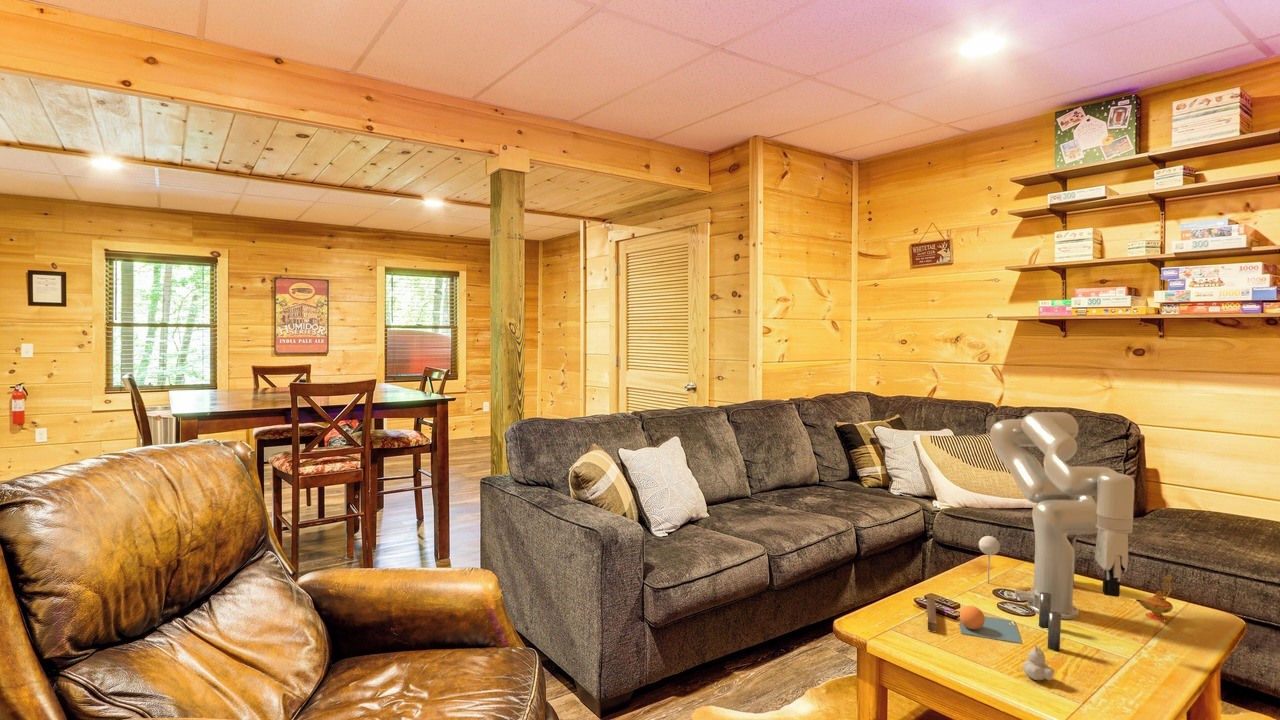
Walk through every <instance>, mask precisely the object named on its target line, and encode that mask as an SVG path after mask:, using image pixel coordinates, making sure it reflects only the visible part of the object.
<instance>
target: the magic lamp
mask: <svg viewBox="0 0 1280 720" xmlns="http://www.w3.org/2000/svg"><path fill="white" fill-rule="evenodd" d="M1172 578H1173V577H1172V575H1171V574H1168V575H1166V576H1165V577H1164V580H1163V581H1164V582H1163V583H1164V584H1163V593H1162V591H1161V590H1157V591H1156V593H1155V594H1154V595H1153V596H1152V597H1151V596H1149V597H1143V598H1142V599H1137V598H1136V599H1135V601H1136V602H1138V603H1139V604H1140V605H1141V606H1142V607H1143V608H1145V609H1146V610H1148V611H1151V612H1148V613H1147V612H1146V613H1145V614H1144V615H1145V617H1147V618H1148V619H1150V618H1151V620H1153V619H1154V621H1157V620H1159V621H1158V622H1167V621H1166V620H1167V619H1168V617H1166V616H1165V615H1164V614H1167V613H1169V612H1171V611H1172V610H1173V609H1174V605H1173V604H1172V603H1171V602H1170V601H1167V600H1166V599H1168V596H1170V593H1171V591H1172V585H1171V582H1170V581H1171V580H1172ZM1167 583H1168V586H1169V590H1168V593H1167V594H1166V592H1167ZM1164 620H1165V621H1164Z"/></svg>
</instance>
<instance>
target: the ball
mask: <svg viewBox="0 0 1280 720" xmlns="http://www.w3.org/2000/svg"><path fill="white" fill-rule="evenodd" d="M959 612H960V620H961V622H962V624H963V625H964V626H965V627H966V628H968V629H971V630H977V629H980V628H981V627H982V626H983V625H984V622H985V618H984V616H985V615H984V613H983V611H982V610H981V609H979V608H978V607H977V606H974V605H965V606H964V607H963V608H962V609H961V610H960V611H959Z"/></svg>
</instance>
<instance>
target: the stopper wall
mask: <svg viewBox="0 0 1280 720" xmlns="http://www.w3.org/2000/svg"><path fill="white" fill-rule="evenodd" d="M926 611H927V612H926V615H927V616H926V617H928V620H927V631H928V630H930V631H936V632H937V613H936V611H937V610H936V598H935V597H933V596H927V597H926Z"/></svg>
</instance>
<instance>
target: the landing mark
mask: <svg viewBox="0 0 1280 720" xmlns="http://www.w3.org/2000/svg"><path fill="white" fill-rule="evenodd" d="M984 618H985V622H984V625H983V626H982V627H981V628H980V629H977V630H971V629H968V628H966V627H965V626H964V625H963V624H962V622H961V621H959V620H958V622H959V623H960V624H959V630H961V631H960V634H961V633H962V634H961V635H967V636H972V637H978V638H979V637H980V638H983V639H990V640H997V641H1001V640H1003V641H1002V642H1007V641H1008V643H1013V642H1015V644H1019V643H1020V645H1022V644H1023V642H1022V640H1021V636H1020V633H1019V630H1018V627H1017V624H1016V622H1015V623H1014V624H1015V625H1016V626H1015V625H1013V624H1012V623H1011V621H1013V620H1011V619H1005V618H1001V617H1000V618H999V617H992V616H986V615H984ZM1009 623H1010V624H1011V625H1010V624H1009Z"/></svg>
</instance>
